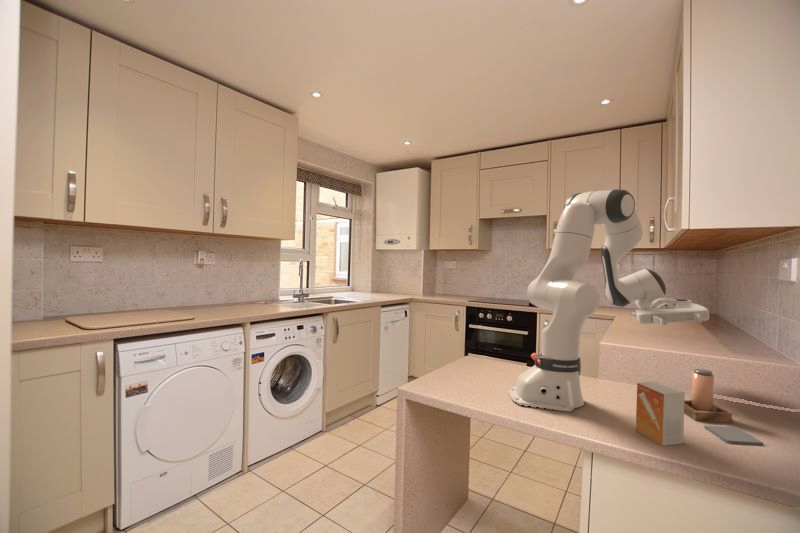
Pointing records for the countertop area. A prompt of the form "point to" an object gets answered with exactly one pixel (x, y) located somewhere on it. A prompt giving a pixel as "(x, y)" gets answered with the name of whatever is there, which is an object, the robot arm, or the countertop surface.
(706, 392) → the jar
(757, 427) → the countertop surface
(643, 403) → the small box
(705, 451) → the countertop surface
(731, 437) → the mat
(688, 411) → the brown wooden square tray
